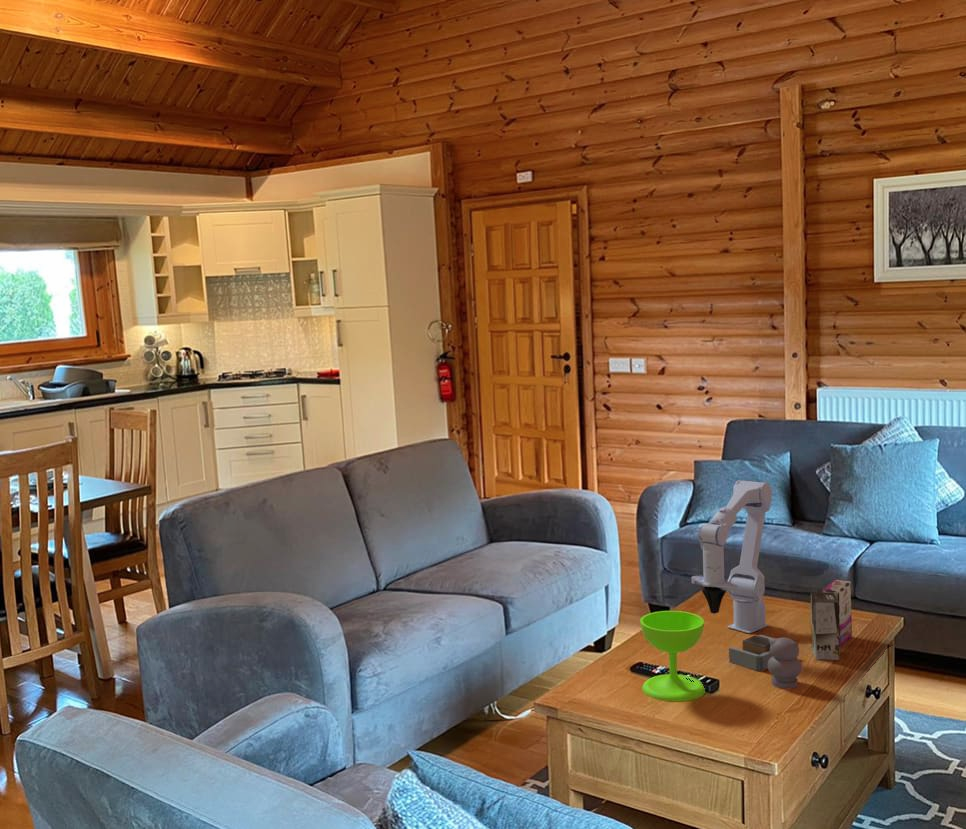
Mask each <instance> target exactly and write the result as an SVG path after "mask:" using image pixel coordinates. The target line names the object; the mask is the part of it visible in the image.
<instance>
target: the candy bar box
mask: <svg viewBox="0 0 966 829" xmlns="http://www.w3.org/2000/svg"><path fill="white" fill-rule="evenodd" d="M851 587H852V584H851V581H848V580H843V579H834V580H832V581H831V582H830V583H829V584H828V585H826V586H825V587H823V589H822V591H821V593H834V594H835V596H836V598H837V599H838V601H839V649H841V648H842V647H841V646H842V645H843V644H844V643H845V644H846V642H848V641H849V639H850V638H851V637H852V636H853V630H852V629H853V627H852V626H853V625H852V624H853V623H852V621H853V620H852V588H851ZM845 644H844V645H845ZM844 645H843V646H844ZM840 647H841V648H840Z"/></svg>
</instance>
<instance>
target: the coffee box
mask: <svg viewBox="0 0 966 829" xmlns="http://www.w3.org/2000/svg"><path fill="white" fill-rule="evenodd" d="M810 619H811V620H810V623H811V624H810V627H811V636H810V637H811V650H812V652H813V655H814V658H815V659H816V660H825V661H826V660H828V661H830V660H832V661H840V648H839V601H838V599H837V598H836V596H835V594H834V593H822V592H810ZM836 659H838V660H836Z"/></svg>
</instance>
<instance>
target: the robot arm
mask: <svg viewBox="0 0 966 829" xmlns="http://www.w3.org/2000/svg"><path fill="white" fill-rule="evenodd" d="M732 493H733V494H732V496H731V497H730V499H729V501H728V503H727V505H726V506H724V507H720V508H719V509H718V510H717V512H716V513H715V514H714V516H713V517H712V518H711V519H710V520H709V522H707V523H704V524H702V525H701V526H700V527H699V531H698V534H697V537H698V542H699V543H700V550H702V562H703V563H702V565H703V566H702V568H703V572H702V574H703V576H702V575H693V576H691V584H693V585H695V584H697V585H701V586H703V588H702V589H701V592H702V594H703V596H704V597H705V599H706V602H707V604H708V608H709V612H710V614H714V615H715V614H717V613H719V612H720V608H721V605H722V600H723V598H724V597H725V594H726V592H727V593H728V595H730V597H731V599H732V600H733V623H732V624H730V625H727V628H728V629H731V630H735V631H738V632H739V631H740V632H742V633H747V634H752V633H754V632H756V631H760V630H762V629H765V628H766V627H768V626H769V624H768V623H766V618H767V617H766V603H765V601H764V599H763V597H764V594H765V591H766V589H765V588H766V586H765V575H764V574H763V573H762V571H761V570H759V568H758V562H759V556H760V550H761V543H762V537H763V530H764V523H765V517H766V513H767V512H769V511H770V510H771V509H770V508H771V505H772V504H771V503H772V498H773V491H772V486H771V485H770V483H769V482H766V481H765V482H761V481H752V480H751V481H749V480H748V481H747V480H743V479H739V480H737V481H736V482H735V483H734V484H733V490H732ZM743 509H744V510H745V511H746V514H747V517H746V521H745V528H744V535H743V541H742V546H741V547H742V548H741V553H740V560H739V565H737V566H735V567H734V568H731V570H730V574H729V576H728V579H727V580H725V558H724V557H725V556H724V555H725V554H724V553H725V552H724V545H726V543H727V541H728V537H729V534H730V530H731V528H732V527H733V526H734V525H735V523H736V522H737V514H738V513H739V512H740V511H742V510H743Z"/></svg>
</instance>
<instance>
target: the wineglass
mask: <svg viewBox="0 0 966 829" xmlns="http://www.w3.org/2000/svg"><path fill="white" fill-rule="evenodd" d="M639 619H640V620H639V622H640V628H641V632H642V633H643V636H644V638H645V639H646V641H647V642H649V644H650V645H651V647H654V648H655V649H656V650H658V651H660V652H664V653H668V664H669V665H668V666H669V667H668V668H669V673H666V674H659V675H655V676H653V677H650V678H648V679H646V681H645V682H644V683H643V685H642V687H641V688H642V689H641V690H642V692H643V693H644V694H645V695H646V696H648V697H650V698H652V699H655V700H657V701H664V702H673V703H674V702H677V703H678V702H679V703H680V702H682V703H683V702H688V701H693V700H696V699H699V698H701V697H703V696H704V695H705V694H706V691H705V689H706V687H705V688H704V686H705V685H704V686H703V684H704V683H703V682H702V681H700V680H699V679H697V678H696V677H693V676H689V675H685V674H680V673H679V674H678V662H677V661H678V660H677V659H678V656H677V655H678V653H682V652H683V653H684V652H687V651H688V650H689V649H691V648H693V647H694V646H695V645H696V644H697V642H699V640H700V638H701V636H702V634H703V631H704V627H705V626H704V625H705V620H704V619H703V617H701V616H700V615H698V614H695V613H691V612H688V611H680V610H661V611H654V612H651V613H647V614H644V615H643V616H642V617H641V618H639ZM686 678H687V679H688V678H689V679H690V680H691V681H692V680H693V681H694V682H693V681H692V682H691V681H690V680H689V679H688V680H687V679H686ZM702 683H703V684H702Z"/></svg>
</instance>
